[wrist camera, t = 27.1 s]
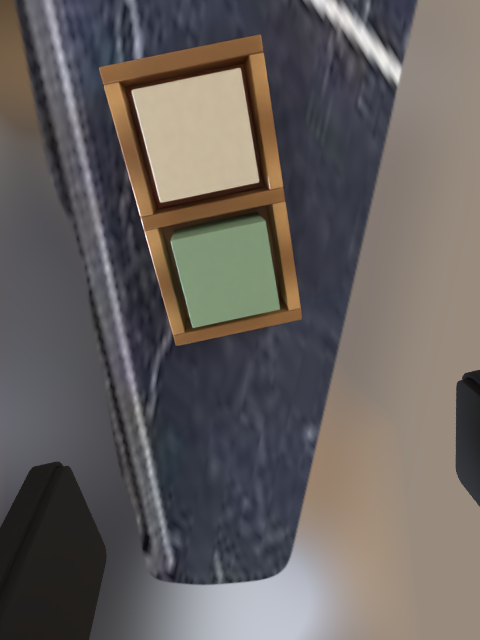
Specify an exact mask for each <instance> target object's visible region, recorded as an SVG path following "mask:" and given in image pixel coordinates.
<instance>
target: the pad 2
mask: <svg viewBox="0 0 480 640" xmlns="http://www.w3.org/2000/svg"><path fill="white" fill-rule="evenodd" d="M170 242H171V246H172V250H173V253H174V257H175V261H176V265H177V269H178V273H179V277H180V281H181V285H182V289H183V293H184V296H185V300H186V304H187V308H188V312H189V316H190V320H191V324H192V327H193V328H195V327H200V326H205V325H209V324H214V323H219V322H223V321H228V320H233V319H238V318H242V317H247V316H252V315H256V314H261V313H266V312H270V311H275V310H279V309H280V305H279V299H278V293H277V287H276V280H275V274H274V268H273V262H272V256H271V250H270V244H269V238H268V232H267V226H266V221H265V220H264V219H263V218H262V217H261V216H260V215H259V214H258V212H255V213H250V214H245V215H240V216H236V217H231V218H226V219H221V220H216V221H212V222H207V223H202V224H197V225H193V226H188V227H183V228H178V229H174V230H173V234H172V237H171V241H170Z"/></svg>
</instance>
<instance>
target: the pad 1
mask: <svg viewBox="0 0 480 640" xmlns="http://www.w3.org/2000/svg"><path fill="white" fill-rule="evenodd" d="M132 95H133V99H134V103H135V107H136V111H137V115H138V119H139V122H140V126H141V130H142V134H143V138H144V142H145V146H146V150H147V154H148V158H149V161H150V165H151V169H152V173H153V177H154V181H155V185H156V189H157V193H158V196H159V200H160V202H161V203H163V202H168V201H173V200H177V199H182V198H187V197H192V196H197V195H201V194H206V193H211V192H216V191H220V190H225V189H230V188H235V187H240V186H244V185H249V184H254V183H258V182H259V175H258V169H257V163H256V157H255V151H254V145H253V139H252V133H251V127H250V121H249V115H248V109H247V103H246V96H245V90H244V84H243V78H242V72H241V69H240V68H236V69H231V70H226V71H221V72H217V73H212V74H207V75H202V76H197V77H192V78H187V79H182V80H177V81H173V82H168V83H163V84H158V85H153V86H148V87H143V88H138V89H133V90H132Z"/></svg>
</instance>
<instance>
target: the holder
mask: <svg viewBox="0 0 480 640" xmlns="http://www.w3.org/2000/svg"><path fill="white" fill-rule="evenodd" d="M236 68H240V69H241V72H242V78H243V84H244V90H245V96H246V103H247V109H248V115H249V121H250V127H251V133H252V139H253V145H254V151H255V157H256V163H257V169H258V175H259V182H258V183H254V184H249V185H244V186H240V187H235V188H230V189H225V190H220V191H216V192H211V193H206V194H201V195H197V196H192V197H187V198H182V199H177V200H173V201H168V202H163V203H161V202H160V200H159V196H158V193H157V189H156V185H155V181H154V177H153V173H152V169H151V165H150V161H149V158H148V154H147V150H146V146H145V142H144V138H143V134H142V130H141V126H140V122H139V119H138V115H137V111H136V107H135V103H134V99H133V95H132V90H133V89H138V88H143V87H148V86H153V85H158V84H163V83H168V82H173V81H177V80H182V79H187V78H192V77H197V76H202V75H207V74H212V73H217V72H221V71H226V70H231V69H236ZM99 70H100V74H101V78H102V81H103V84H104V88H105V92H106V96H107V99H108V103H109V106H110V110H111V114H112V117H113V121H114V124H115V128H116V131H117V135H118V139H119V142H120V146H121V149H122V153H123V157H124V160H125V164H126V167H127V171H128V175H129V178H130V182H131V185H132V189H133V193H134V196H135V200H136V203H137V207H138V211H139V214H140V216H141V221H142V225H143V229H144V230H145V236H146V240H147V243H148V247H149V250H150V254H151V257H152V261H153V265H154V268H155V272H156V275H157V279H158V283H159V286H160V290H161V293H162V297H163V301H164V304H165V308H166V311H167V315H168V319H169V322H170V326H171V329H172V333H173V337H174V340H175V344H176V346H179V345H184V344H188V343H193V342H198V341H202V340H207V339H212V338H216V337H221V336H226V335H230V334H235V333H240V332H244V331H249V330H254V329H258V328H263V327H268V326H272V325H277V324H282V323H286V322H291V321H296V320H300V319H302V313H301V306H300V299H299V292H298V285H297V278H296V271H295V265H294V258H293V251H292V244H291V237H290V230H289V223H288V216H287V209H286V202H285V196H284V189H283V188H282V187H283V182H282V175H281V168H280V161H279V154H278V148H277V141H276V134H275V127H274V120H273V113H272V106H271V99H270V92H269V85H268V79H267V72H266V65H265V58H264V53H263V44H262V37H261V35H260V34H259V35H254V36H249V37H245V38H240V39H235V40H230V41H225V42H220V43H215V44H210V45H205V46H200V47H195V48H190V49H186V50H181V51H176V52H171V53H166V54H161V55H156V56H151V57H146V58H141V59H136V60H132V61H127V62H122V63H117V64H112V65H107V66H102V67H99ZM255 212H258V214H259V215H260V216H261V217H262V218H263V219H264V220H265V221H266V226H267V232H268V238H269V244H270V250H271V256H272V262H273V268H274V274H275V280H276V287H277V293H278V299H279V305H280V309H279V310H275V311H270V312H266V313H261V314H256V315H252V316H247V317H242V318H238V319H233V320H228V321H223V322H219V323H214V324H209V325H205V326H200V327H195V328H193V327H192V324H191V320H190V316H189V312H188V308H187V304H186V300H185V296H184V293H183V289H182V285H181V281H180V277H179V273H178V269H177V265H176V261H175V257H174V253H173V250H172V246H171V242H170V241H171V237H172V234H173V230H174V229H178V228H183V227H188V226H193V225H197V224H202V223H207V222H212V221H216V220H221V219H226V218H231V217H236V216H240V215H245V214H250V213H255Z"/></svg>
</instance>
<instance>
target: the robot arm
mask: <svg viewBox="0 0 480 640" xmlns="http://www.w3.org/2000/svg"><path fill="white" fill-rule="evenodd" d="M456 391H457V393H456V397H457V398H456V472H457V475H458V478H459V480H460V482H461V483H462V484H463V486H464V487H465V488H466V490H467V491H468V492H469V493H470V495H471V496H472V497H473V499H474V500H475V501H476V502H477V504H478V505H479V506H480V370H477V371H472V372H468V373H465V374H464V375H463V377H462V380H461V381H458V383H457V388H456ZM105 564H106V548H105V545H104V543H103V540H102V538H101V535H100V533H99V531H98V529H97V526H96V524H95V522H94V520H93V517H92V515H91V513H90V511H89V508H88V506H87V504H86V501H85V499H84V497H83V495H82V492H81V490H80V488H79V486H78V483H77V481H76V479H75V477H74V474H73V472H72V470H71V468H70V467H69V466H65V467H64V466H63V465H62V464H61V463H60V462H53V463H48V464H44V465H40V466H35V467H33V468H32V469H31V470H30V471H29V473H28V475H27V477H26V479H25V481H24V483H23V485H22V487H21V489H20V491H19V493H18V495H17V496H16V498H15V500H14V502H13V504H12V506H11V508H10V510H9V512H8V514H7V516H6V518H5V520H4V522H3V524H2V526H1V527H0V640H89V636H90V632H91V628H92V623H93V619H94V614H95V610H96V605H97V600H98V596H99V591H100V586H101V582H102V578H103V573H104V568H105Z"/></svg>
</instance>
